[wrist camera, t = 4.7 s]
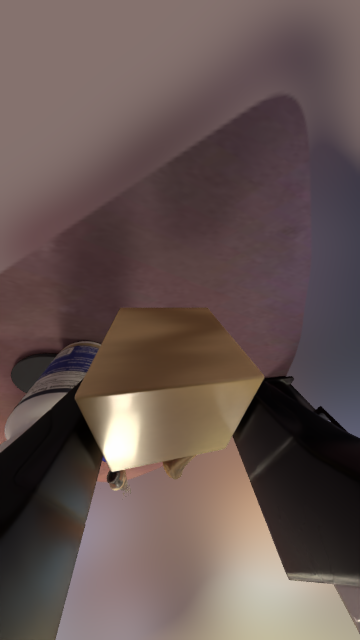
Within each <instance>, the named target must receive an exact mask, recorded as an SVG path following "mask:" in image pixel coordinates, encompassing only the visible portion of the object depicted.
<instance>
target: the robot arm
mask: <svg viewBox="0 0 360 640" xmlns="http://www.w3.org/2000/svg"><path fill="white" fill-rule="evenodd" d="M83 379H84V378H83ZM83 379H82V380H81V381H80V382H79V383H78V384H77V385H76V386H75V387H73V388H72V389H71V390H70V391H69V392H68V393H67V394H66V395H65V396H64V397H63V398H61V399H60V400H59V401H58V402H57V403H56V404H55V405H54V406H53V407H52V408H51V409H50V410H48V411H47V412H46V413H45V414H44V415H43V416H42V417H41V418H40V419H39V420H37V421H36V422H35V423H34V424H33V425H32V426H31V427H30V428H28V429H27V430H26V431H25V432H24V433H23V434H22V435H21V436H19V437H18V438H17V439H16V440H15V441H13V442H12V443H11V444H10V445H9V446H8V447H6V448H5V449H4V450H3V451H2V452H0V640H55V639H56V635H57V631H58V627H59V624H60V620H61V616H62V611H63V608H64V604H65V600H66V597H67V593H68V589H69V585H70V581H71V578H72V573H73V570H74V566H75V562H76V558H77V554H78V551H79V547H80V543H81V539H82V535H83V532H84V528H85V522H86V520H87V516H88V512H89V508H90V504H91V500H92V497H93V493H94V489H95V485H96V481H97V478H98V474H99V470H100V466H101V462H102V458H103V454H102V452H101V450H100V448H99V446H98V444H97V442H96V440H95V438H94V436H93V434H92V432H91V430H90V428H89V426H88V424H87V422H86V420H85V418H84V416H83V414H82V412H81V410H80V408H79V406H78V404H77V402H76V400H75V394H76V392H77V390H78V388H79V387H80V385H81V383H82V381H83ZM293 380H294V378H293V377H292V376H291V377H290V376H289V377H280V378H271V379H265V380H264V379H263V381H262V383H261V385H260V387H259V388H258V390H257V392H256V394H255V396H254V397H253V399H252V401H251V403H250V405H249V406H248V408H247V410H246V412H245V414H244V416H243V417H242V419H241V421H240V423H239V425H238V426H237V428H236V430H235V432H234V434H233V435H232V436H233V438H234V441H235V443H236V446H237V448H238V451H239V454H240V456H241V459H242V462H243V464H244V467H245V469H246V472H247V474H248V477H249V479H250V482H251V485H252V487H253V490H254V493H255V495H256V497H257V500H258V503H259V505H260V508H261V511H262V513H263V516H264V518H265V521H266V523H267V526H268V528H269V531H270V534H271V536H272V539H273V541H274V544H275V546H276V549H277V552H278V554H279V557H280V559H281V561H282V564H283V567H284V569H285V572H286V574H287V576H288V578H289V580H295V581H306V582H317V583H328V584H334V586H335V588H336V590H337V592H338V594H339V595H340V598H341V599H342V601H343V603H344V605H345V607H346V609H347V611H348V613H349V615H350V616H351V618H352V620H353V622H354V624H355V626H356V628H357V630H358V632H359V633H360V438H358V437H356V436H354V435H352V434H350V433H348V432H347V431H346V430H345V429H344V428H343V427H342V426H341V425H340V424H339V423H338V422H337V421H335V419H334V418H333V417H332V416H330V415H329V414H328V413H327V412H326V411H325V410H324V409H323V408H322V407H321V406H320V407H318V409H316V410H315V409H314V408H313V407H312V406H311V405H310V403H308V402H307V400H306V399H304V397H303V396H302V395H301V394H300V393H299V392H298V391H297V390H296V389H295V388H294V387H293V386H292V385H291V383H292V381H293ZM327 420H330V421H331V422H329V421H327Z"/></svg>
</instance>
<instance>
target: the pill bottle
mask: <svg viewBox="0 0 360 640" xmlns="http://www.w3.org/2000/svg"><path fill="white" fill-rule="evenodd" d="M100 346H101V344H99V343H95V342H90V341H82V342H76V343H73V344H70V345H68V346H67V347H65V348H64V349H63V350H61V351H60V353H59V354H58V355H57V356H56V357H55V359H54V360H53V361H52V362H51V364H50V365H49V366H48V367H47V369H46V370H45V371H44V372H43V374H42V375H41V376H40V378H39V379H38V380H37V381H36V383H35V384H34V385H33V386H32V388H31V389H30V390H29V391H28V393H27V394H26V395H25V396H24V397H23V399H22V400H21V401H20V402H19V404H18V405H17V406H16V407H15V409H14V410H13V412H12V413H11V414H10V416H9V418H8V420H7V422H6V425H5V436H6V439H7V441H5V442H3V443H2V444H1V445H0V452H2V451H3V450H4V449H5V448H6V447H8V446H9V445H10V444H11V443H12V442H13V441H15V440H16V439H17V438H18V437H19V436H21V435H22V434H23V433H24V432H25V431H26V430H27V429H28V428H30V427H31V426H32V425H33V424H34V423H35V422H36V421H37V420H39V419H40V418H41V417H42V416H43V415H44V414H45V413H46V412H47V411H48V410H50V409H51V408H52V407H53V406H54V405H55V404H56V403H57V402H58V401H59V400H60V399H61V398H63V397H64V396H65V395H66V394H67V393H68V392H69V391H70V390H71V389H72V388H73V387H75V386H76V385H77V384H78V383H79V382H80V381H81V380H82V379H83V378H84V377H85V375H86V373H87V371H88V369H89V367H90V365H91V363H92V361H93V360H94V358H95V356H96V354H97V352H98V350H99V348H100Z"/></svg>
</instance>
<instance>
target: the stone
mask: <svg viewBox="0 0 360 640" xmlns="http://www.w3.org/2000/svg"><path fill="white" fill-rule="evenodd" d="M195 456H196V455H192V456H187V457H182V458H177V459H173V460H168V461H163V466H164V469H165V471H166V473H167V474H168V475H169V477H171V478H173V479H178V478H179V477H181V475H182V471H183V469H184V468H185V466H186V465H187V464H188V463H189V462H190V461H191V460H192V459H193V458H194V457H195Z"/></svg>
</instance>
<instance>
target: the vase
mask: <svg viewBox="0 0 360 640" xmlns="http://www.w3.org/2000/svg"><path fill="white" fill-rule="evenodd" d="M107 482H108V483H109V484H110V487H111V489H113V490H119V489H121V490H125V491H128V490H129V489H130V487H129V489H127V488H128V487H127V486H128V482H127V478H126V471H125V470H119V471H114V472H112V471H111V470H110V471H109V473H108V475H107ZM128 492H129V491H128ZM130 493H131V490H130ZM123 494H124V493H123Z"/></svg>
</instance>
